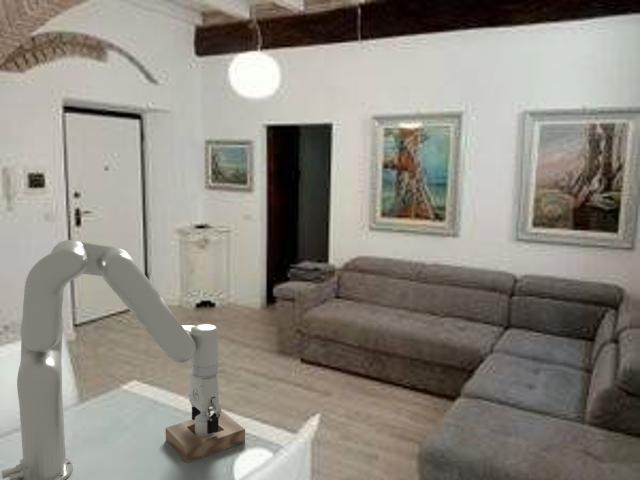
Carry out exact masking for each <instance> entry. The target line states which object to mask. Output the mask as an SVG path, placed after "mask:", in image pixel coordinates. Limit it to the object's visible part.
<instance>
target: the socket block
mask: <svg viewBox="0 0 640 480" xmlns="http://www.w3.org/2000/svg"><path fill="white" fill-rule="evenodd" d="M213 413H214V412H213ZM213 413H212V412H211V414H213ZM165 441H166V443H167V444H168V445H169V446H170V447H171V448H172V449H173V450H174V451H175V452H176V453H177V455H178V456H179V457H180V458H181V459H182V460H184V462H185V463H186V464H188V463H190V462H193V461H196V460H199V459H201V458H205V457H208V456H210V455H213V454H216V453H218V452H221V451H223V450H227V449H229V448H232V447H235V446H237V445H240V444H243V443H246V428H245V427H243V426H242V425H241V424H239V423H238V422H237V421H235V420H234V419H233V418H231V417H230V416H229V415H228V414H227V413H225V412H224V411H223V410H221V413H220V417H219V419H218V431H217V432H215V433H214V434H211V435H208V436H205V437H202V438H198V437H197V436H196V435H195V420H192V419H190V420H187V421H183V422H181V423H177V424H174V425H171V426H167V427H165Z"/></svg>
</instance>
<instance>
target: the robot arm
mask: <svg viewBox="0 0 640 480" xmlns="http://www.w3.org/2000/svg"><path fill="white" fill-rule="evenodd" d="M82 275H89V276H97V277H102V279H103V280H104V281H105V282H106V284H107V285H108V286H109V287H110V288H111V290H113V292H114V293H115V294H116V295H117V296H118V298H119V299H120V301H122V303H123V304H124V305H125V307H127V309H128V310H129V311H130V313H131V314H132V315H133V316H134V317H135V319H136V320H137V322H139V324H141V326H142V327H143V328H144V329H145V330H146V331H147V333H148V334H149V336H151V338H152V339H153V340H154V342H155V343H156V344H157V345H158V346H159V348H161V350H162V351H163V352H164V353H165V355H166V356H167V357H168V358H169V359H170V360H171V361H173V362H175V363H179V364H182V363H183V364H184V363H186V362H188V361H190V379H189V388H188V390H189V392H188V393H189V394H188V397H189V398H188V399H189V400H188V401H189V402H190V405H191V420H195V417H196V416H197V415H199V414H201V412H202V413H206V412H207V416H208V419H209V420H207V433H208V434H211V433H214V432H217V431H218V419H219V417H220V413H221V411H222V408H221V406H220V390H219V381H218V380H219V379H218V374H219V329H218V327H217V326H216V325H214V324H209V323H201V324H197V325H182V324H181V322H179V320H178V318H176V316H175V315H174V313H173V312H172V311H171V309H170V308H169V305H168V304H167V303H166V301H165V299H164V297H163V296H162V295H161V293H160V292H159V290H157V288H156V287H155V286H154V285H153V283H152V282H151V281H150V280H149V278H148V277H147V276H146V274H145V273H144V272H143V270H141V268H140V267H139V266H138V264H137V263H136V262H135V261H134V258H132V256H131V255H130V254H129V253H128V251H126V250H124V249H122V248H119V247H116V246H109V245H103V244H96V243H92V242H85V241H80V240H73V239H69V240H63V241H60V242H58V243H57V244H55V246H53V248H52V250H51V252H50V253H49V254H47V255H46V256H44V257H42V258H41V259H39V260H38V261H37V262H36V263H35V264H34V265H33V267H31V269H30V270H29V271H28V274H27V276H26V278H25V282H24V283H25V285H24V290H23V301H22V302H23V303H22V319H21V324H20V331H19V332H20V334H19V335H20V338H21V342H20V343H21V344H20V348H21V349H20V364H19V367H18V372H17V378H16V380H17V381H16V388H17V395H18V406H19V421H20V432H21V447H22V448H21V449H22V459H20V460H19V464H16V465H15V466H14V467H12V468H11V467H10V468H7V469H3V470H1V473H0V474H1V478H2V480H3V479H7V478H8V479H9V480H66V479H67V478H68V477H70V475H71V474H72V472H73V468H74V465H73V463H72V461H71V460H69V459H68V458H66V457H67V456H66V439H65V438H66V436H65V420H64V419H65V418H64V417H65V416H64V401H63V399H64V398H63V373H62V372H63V371H62V370H63V366H62V353H63V351H62V349H63V331H64V317H63V301H64V291H65V287H66V286H67V285H68V284H69V283H70V282H72V281H73V280H76V279H77V278H80V277H81V276H82ZM212 412H213V414H212ZM211 414H212V416H211Z"/></svg>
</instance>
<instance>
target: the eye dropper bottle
mask: <svg viewBox="0 0 640 480" xmlns="http://www.w3.org/2000/svg"><path fill="white" fill-rule="evenodd" d="M211 416H212V413H211ZM207 420H209V419H208V416H207V412H206V413H202V412H201V414H199V415H197V416H196V417H195V435H196V436H197V437H198V438H202V437H205V436H208V435H211V434H214V433H215V432H214V433H211V434H208V433H207Z"/></svg>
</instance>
